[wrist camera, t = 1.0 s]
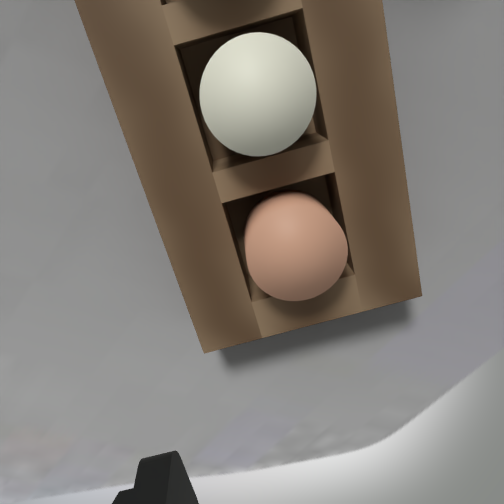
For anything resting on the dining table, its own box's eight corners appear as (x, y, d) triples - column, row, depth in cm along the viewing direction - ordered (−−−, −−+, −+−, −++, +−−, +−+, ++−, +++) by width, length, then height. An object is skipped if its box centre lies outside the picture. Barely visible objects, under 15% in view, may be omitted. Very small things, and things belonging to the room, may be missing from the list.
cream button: (290, 25, 19) (302, 17, 17) (312, 130, 21) (326, 139, 18) (189, 54, 20) (183, 51, 17) (219, 156, 21) (218, 169, 19)
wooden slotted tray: (316, -256, 18) (337, -328, 15) (397, 269, 27) (422, 296, 24) (34, -167, 18) (-6, -218, 15) (206, 320, 27) (204, 353, 24)
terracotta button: (323, 178, 22) (337, 194, 19) (339, 261, 24) (355, 286, 21) (232, 203, 22) (234, 222, 19) (256, 284, 24) (260, 311, 21)
